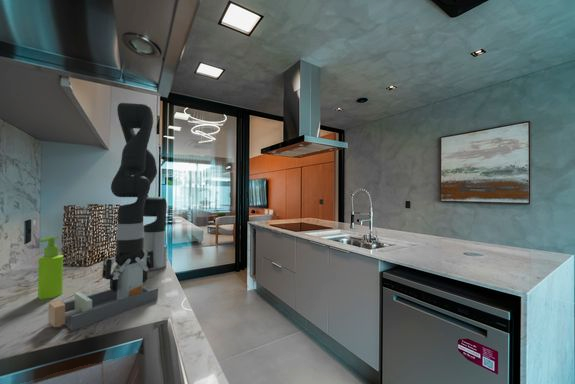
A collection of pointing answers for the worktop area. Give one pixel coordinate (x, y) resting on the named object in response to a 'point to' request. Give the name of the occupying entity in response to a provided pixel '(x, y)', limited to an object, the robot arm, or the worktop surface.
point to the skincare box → (130, 281)
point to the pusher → (58, 311)
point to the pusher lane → (107, 306)
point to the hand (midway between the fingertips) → (129, 286)
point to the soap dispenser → (50, 271)
